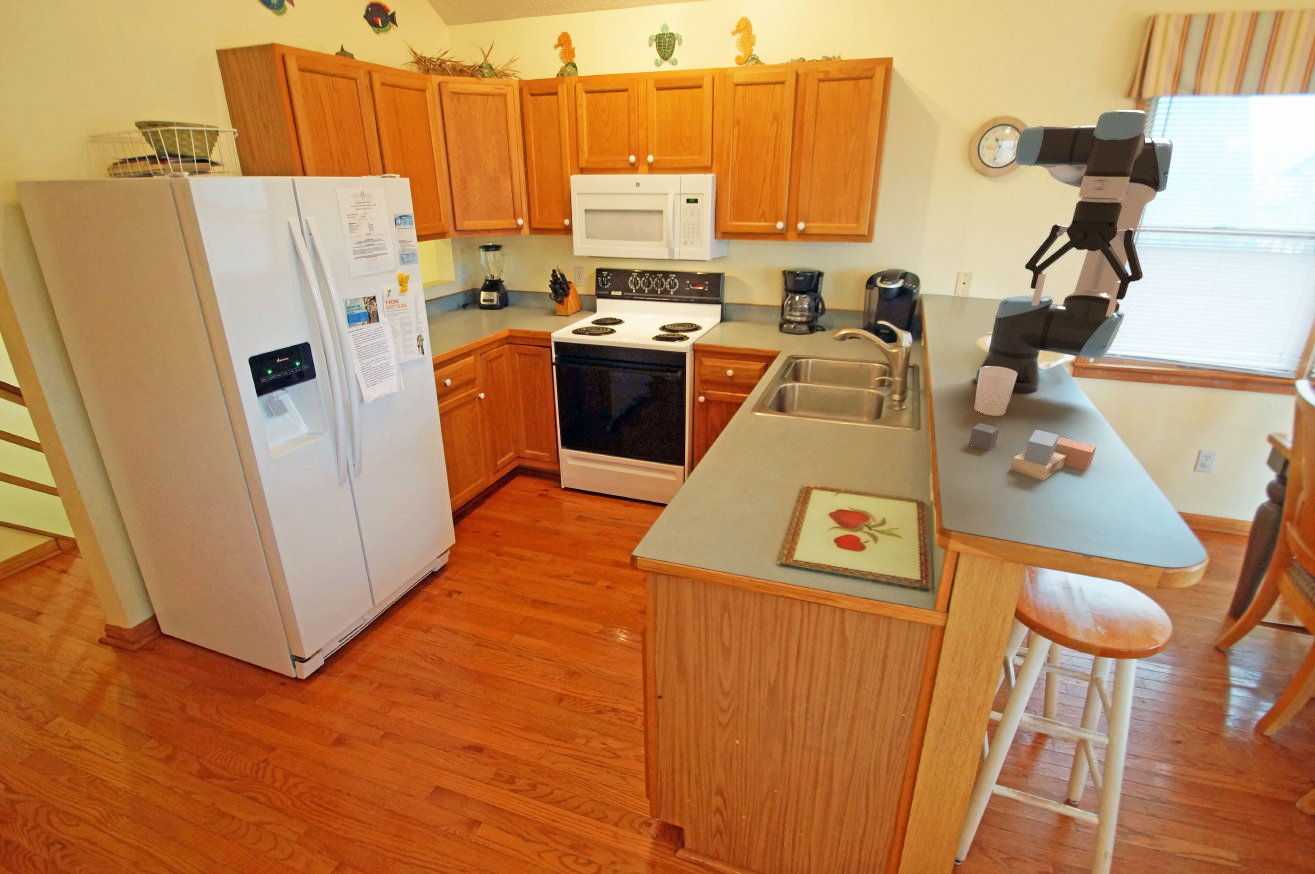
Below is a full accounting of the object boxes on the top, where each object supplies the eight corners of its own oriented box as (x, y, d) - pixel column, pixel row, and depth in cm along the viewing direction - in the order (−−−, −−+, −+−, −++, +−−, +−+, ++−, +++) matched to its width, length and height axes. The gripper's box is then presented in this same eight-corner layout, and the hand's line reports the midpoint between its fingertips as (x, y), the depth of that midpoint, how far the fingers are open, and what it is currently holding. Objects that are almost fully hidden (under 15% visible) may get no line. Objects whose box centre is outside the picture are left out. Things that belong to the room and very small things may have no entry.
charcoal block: (975, 440, 138) (979, 422, 136) (995, 445, 135) (999, 428, 134) (968, 445, 135) (972, 428, 134) (988, 451, 133) (992, 433, 131)
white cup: (1012, 418, 149) (1022, 377, 145) (975, 415, 151) (984, 375, 147) (1002, 406, 156) (1011, 367, 152) (967, 404, 158) (976, 364, 154)
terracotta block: (1045, 460, 129) (1050, 441, 128) (1051, 454, 132) (1056, 436, 130) (1085, 471, 125) (1091, 452, 123) (1090, 464, 127) (1096, 446, 126)
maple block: (1030, 459, 130) (1033, 445, 129) (1062, 469, 126) (1066, 455, 125) (1009, 471, 125) (1013, 457, 124) (1042, 482, 121) (1046, 468, 120)
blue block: (1031, 448, 128) (1036, 429, 126) (1053, 453, 126) (1059, 434, 124) (1023, 460, 123) (1028, 440, 121) (1046, 465, 121) (1052, 446, 119)
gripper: (1024, 198, 129) (1000, 303, 138) (1176, 204, 114) (1139, 323, 122) (1035, 196, 134) (1012, 298, 143) (1183, 202, 119) (1147, 316, 127)
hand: (1071, 310), depth 133 cm, fingers open, 13 cm apart
